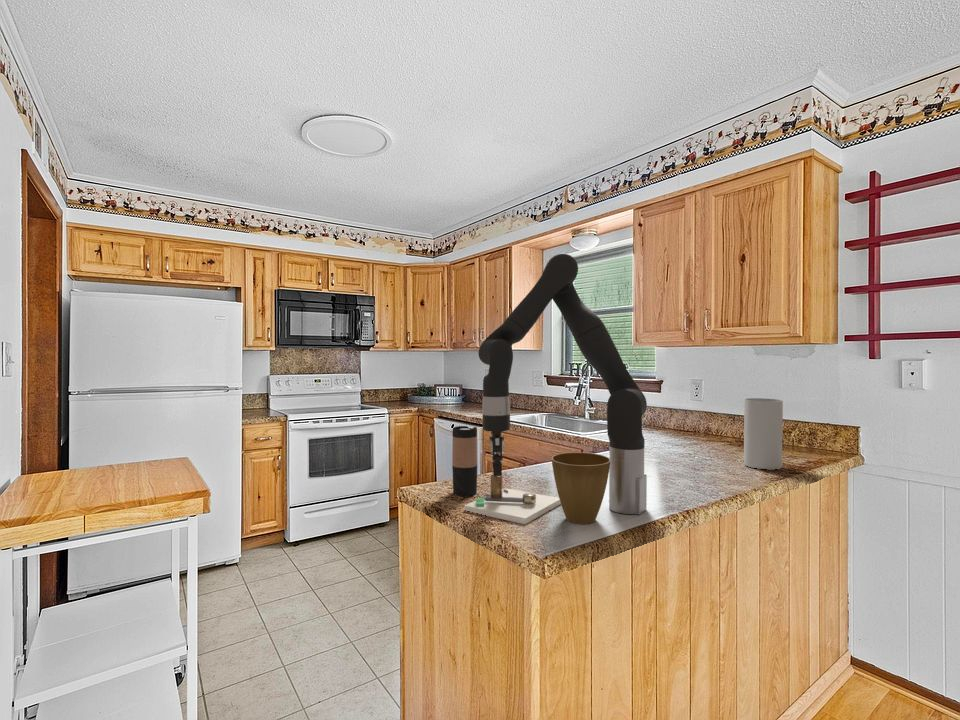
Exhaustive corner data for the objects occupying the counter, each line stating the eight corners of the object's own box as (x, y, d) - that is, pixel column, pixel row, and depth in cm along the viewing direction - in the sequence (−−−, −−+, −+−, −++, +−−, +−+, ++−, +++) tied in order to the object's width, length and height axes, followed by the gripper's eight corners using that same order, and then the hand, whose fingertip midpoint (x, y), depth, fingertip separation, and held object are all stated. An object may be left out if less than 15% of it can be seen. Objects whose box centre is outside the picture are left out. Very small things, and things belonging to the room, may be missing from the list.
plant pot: (546, 511, 140) (546, 452, 139) (600, 510, 141) (600, 451, 140) (558, 530, 125) (558, 464, 125) (618, 529, 126) (618, 463, 126)
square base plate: (561, 503, 147) (561, 495, 147) (525, 524, 129) (525, 515, 129) (503, 492, 158) (503, 485, 158) (462, 510, 140) (462, 502, 140)
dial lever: (536, 500, 143) (536, 475, 143) (535, 504, 139) (535, 478, 139) (486, 498, 145) (486, 473, 145) (485, 502, 141) (484, 476, 141)
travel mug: (455, 497, 153) (455, 430, 152) (450, 490, 160) (449, 426, 160) (480, 495, 155) (480, 429, 154) (473, 489, 162) (473, 425, 162)
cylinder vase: (736, 464, 196) (736, 399, 195) (759, 461, 200) (760, 397, 200) (765, 472, 184) (766, 402, 184) (789, 468, 189) (790, 400, 188)
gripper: (511, 415, 133) (512, 478, 133) (508, 409, 147) (509, 466, 148) (482, 416, 133) (483, 478, 133) (482, 410, 147) (483, 466, 148)
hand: (497, 472), depth 140 cm, fingers open, 8 cm apart
